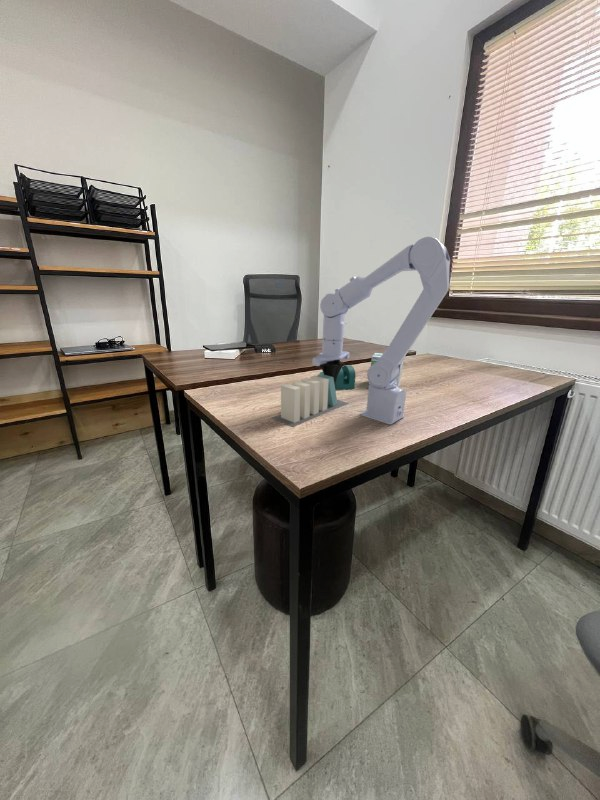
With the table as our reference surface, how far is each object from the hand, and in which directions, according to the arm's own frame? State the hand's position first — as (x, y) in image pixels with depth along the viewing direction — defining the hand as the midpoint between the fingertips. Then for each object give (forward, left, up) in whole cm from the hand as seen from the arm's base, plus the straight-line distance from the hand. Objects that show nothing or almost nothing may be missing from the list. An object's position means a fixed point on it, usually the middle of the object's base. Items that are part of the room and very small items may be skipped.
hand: (330, 385), depth 90 cm
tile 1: (0, 0, -5) cm, 5 cm away
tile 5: (0, +17, -6) cm, 18 cm away
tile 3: (0, +9, -6) cm, 11 cm away
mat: (0, +8, -6) cm, 10 cm away
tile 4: (0, +13, -6) cm, 14 cm away
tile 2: (0, +5, -6) cm, 8 cm away
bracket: (+13, -19, -6) cm, 24 cm away
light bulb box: (-1, -31, -6) cm, 32 cm away
